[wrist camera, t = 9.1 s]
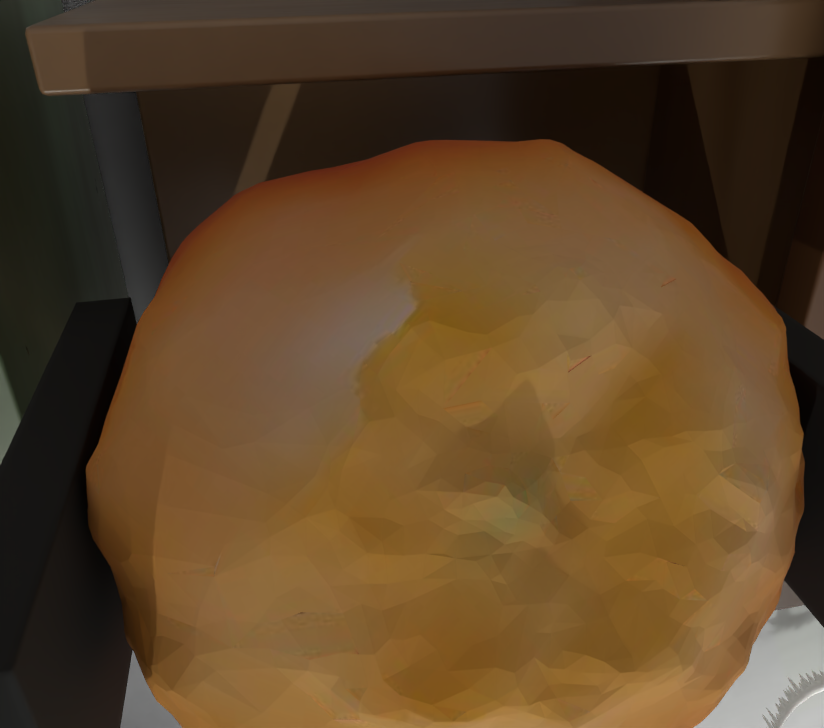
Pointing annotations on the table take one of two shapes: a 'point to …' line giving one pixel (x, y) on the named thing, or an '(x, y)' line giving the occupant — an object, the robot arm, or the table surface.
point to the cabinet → (806, 275)
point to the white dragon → (796, 697)
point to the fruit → (449, 453)
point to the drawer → (387, 118)
